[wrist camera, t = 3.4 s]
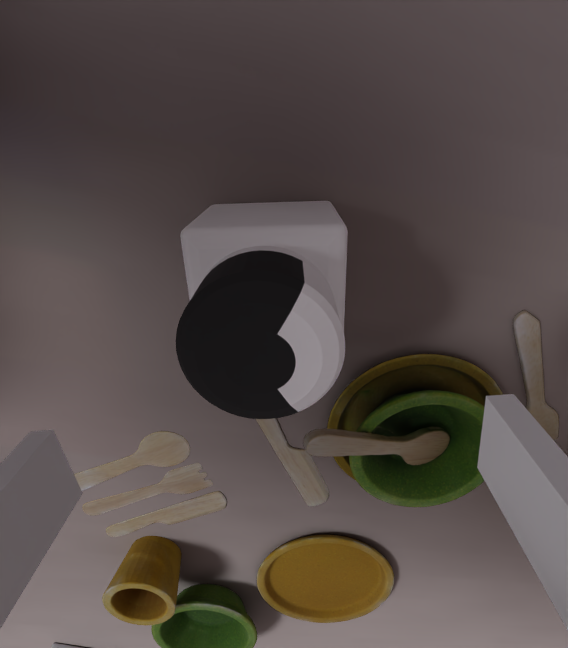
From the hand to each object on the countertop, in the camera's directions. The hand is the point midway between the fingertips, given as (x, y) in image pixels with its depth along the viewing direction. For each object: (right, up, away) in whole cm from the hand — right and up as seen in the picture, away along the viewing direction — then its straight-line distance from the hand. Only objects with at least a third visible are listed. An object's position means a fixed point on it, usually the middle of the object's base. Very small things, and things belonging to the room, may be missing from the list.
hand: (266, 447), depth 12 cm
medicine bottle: (0, +8, +12) cm, 14 cm away
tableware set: (+4, -13, +22) cm, 26 cm away
